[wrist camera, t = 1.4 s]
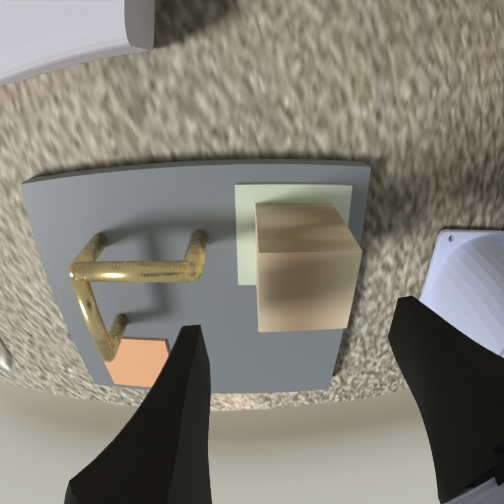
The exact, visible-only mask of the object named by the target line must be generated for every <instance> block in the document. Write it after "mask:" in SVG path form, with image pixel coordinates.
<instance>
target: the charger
mask: <svg viewBox="0 0 504 504" xmlns="http://www.w3.org/2000/svg"><path fill="white" fill-rule="evenodd" d="M154 26H155V0H0V85H5V84H11V83H17V82H20V81H22V80H25V79H28V78H32V77H35V76H38V75H41V74H44V73H48V72H51V71H55V70H58V69H62V68H66V67H70V66H74V65H78V64H82V63H86V62H91V61H95V60H100V59H105V58H110V57H116V56H121V55H127V54H133V53H140V52H147V51H151V50H152V49H153V46H154Z"/></svg>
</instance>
